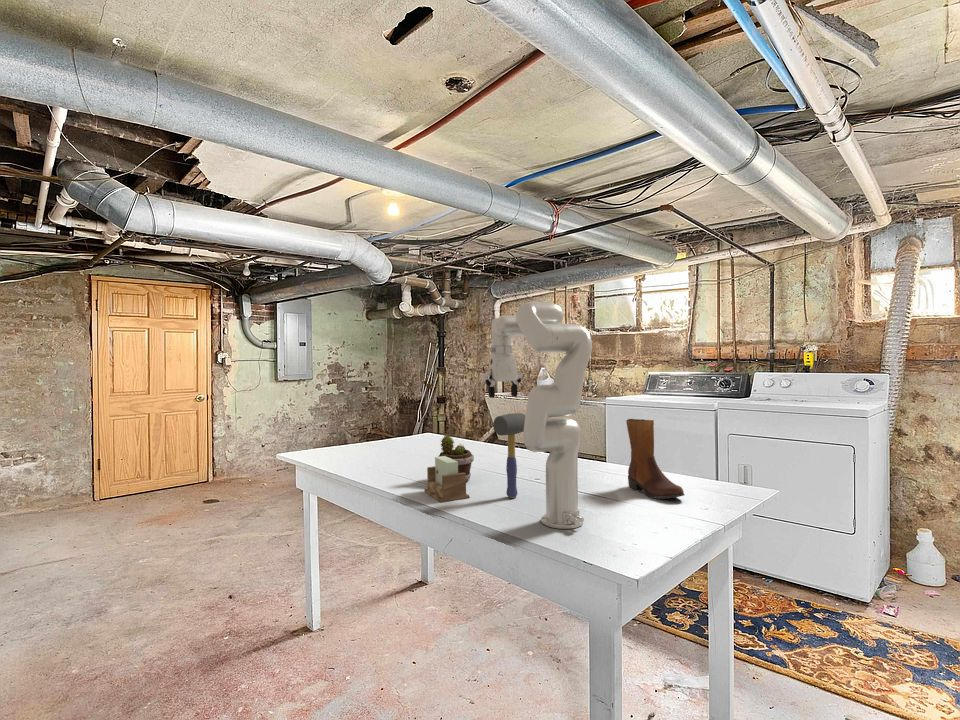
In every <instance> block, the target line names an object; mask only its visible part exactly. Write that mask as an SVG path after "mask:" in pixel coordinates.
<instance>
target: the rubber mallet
mask: <svg viewBox="0 0 960 720" xmlns="http://www.w3.org/2000/svg"><path fill="white" fill-rule="evenodd" d="M524 422H525V414H524V413H522V412H520V413H519V412H517V413H516V412H515V413H507V414H502V415H499V416H497V417H495V418H494V420H493V422H492V423H493V424H492V425H493V426H492V427H493V431H494V432H495V434H496V435H497V436H501V437H502V436H507V458H506V476H507V477H506V478H507V482H506V485H507V487H506V496H507V497H508V498H509V499H516V498H517V496H518V489H517V473H518V468H517V467H518V465H517V459H516V442H515V441H516V440H515V439H516V438H515V435H517V434H520V433H523V431H524Z"/></svg>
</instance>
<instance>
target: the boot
mask: <svg viewBox="0 0 960 720" xmlns="http://www.w3.org/2000/svg"><path fill="white" fill-rule="evenodd" d="M625 422H626V427H627V433H628V438H629V444H630V463H629V466H628V468H627V483H628V488H629V489H631V490H633V491H636V492H640V491H643V492H644V493H645V495H646V496H648V497H649V498H652V499H659V500H660V499H672V498H673V499H674V498H679V497H682V496H683V497H684V496H685V493H684V492H685V491H684V489H683V488H682V486H680V485H677V484H675V483H673V482H672V481H671V480H670V479H669V478H668V477H667V476H666V474H664V473H663V472H662V470H661V469H660V467H659V465H658V464H657V461H656V458H655V429H654V428H655V427H654V425H655V420H654V419H653V420H652V419H638V418H637V419H636V418H628V419H626V420H625Z"/></svg>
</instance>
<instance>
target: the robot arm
mask: <svg viewBox="0 0 960 720" xmlns="http://www.w3.org/2000/svg"><path fill="white" fill-rule="evenodd" d="M563 320H564V312H563V310H562V308H561V307H560V306H559V305H558V304H557V303H554V302H546V301H545V302H543V301H526V302H523V303H521V304H520V305H519V307H518V308H517V311H516V314H515V315H500V316H499V317H495V318H493V319H492V320H491V347H490V348H489V349H488V350H489V352H491V355H490V358H489V366H488V371H486V372H484V373H483V374H482V375H481V378H482V380H483V383H484V384H485V385H486V387H487V388H488V397H489V398H492V399H494V398H495V397H496V392H495V391H496V387H495V384H496V382H499V383H500V382H510V384H511V386H510V394H511V395H510V396H512V397H518V387H519V384H520V383H521V381H522V378H523V376H524V374H523V373H522V372H520V371H518V367H517V366H518V365H517V361H516V355H515V354H513V337H525V340H527V342H528V344H529V345H530V347H531V348H532V349H533V350H534V351H536V352H538V353H547V354H548V353H551V354H552V353H566V354H565V355H564V356H563V358H561V360H560V361H559V362H558V364H557V366H556V367H555V368H556V369H555V373H554V378H553V382H552V383H551V384H541V385H540V384H539V385H536V386H534V387H533V388H531V390H530V391H529V393H528V395H527V396H528V397H527V401H526V406H525V407H526V408H525V414H524V415H525V422H524V431H523V432H522V433H523V435H522V436H523V437H522V439H523V443H524V446H525V448H526V449H527V450H528V451H530V452H532V453H544V452H549V454H548V455H547V459H546V462H545V510H546V511H545V512H546V513H545V514H543V515H542V516H541V517H540V520H541V523H542V524H543V525H545V526H546V527H549V528H553V529H558V530H559V529H560V530H561V529H563V530H568V529H576V528H579V527H582V526H583V524H584V521H585V519H584V517H583V516H581V513H580V509H579V490H578V489H579V487H578V478H579V477H578V476H579V475H578V474H579V473H578V472H579V471H578V468H579V467H578V465H579V463H578V461H579V460H578V459H579V458H578V456H579V449H580V448H579V447H580V443H581V436H582V435H581V434H582V433H581V427H580V425H579V424H578V422H577V421H576V420H574V419H572V418H570V417H569V416H574V415H576V414H577V413H578V411H579V410H580V406H581V401H582V396H583V390H584V388H583V387H584V382H585V375H586V371H587V367H588V365H589V361H590V358H591V355H592V351H593V341H592V337H591V334H590V332H589V331H588V329H587V328H586V327H584V326H583V325H580V324H575V323H562V321H563ZM488 377H489V379H488Z"/></svg>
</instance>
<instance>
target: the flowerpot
mask: <svg viewBox="0 0 960 720" xmlns="http://www.w3.org/2000/svg"><path fill="white" fill-rule="evenodd" d="M439 442H440V443H439V446H440V450H441V452H440V453H439V454H438V456H437V457H440V456H446V457H448V458H451V459H453V460H455V461H457V462H458V473H466V483H468V482H469V480H470V478H471V475H472V474H471V468H472V463H473V462H474V461H475V460H474V458H475V456H474V454H473V453H472V452H471V450H468V449H466V447H465V446H464V445H465V444H464V443H463V444H461V443H459V444H457V445H456V447H455V439H453V437H451V436H450V435H449V434H447V432H445V434H444V435H443V437H442V438H441V439H440V440H439Z"/></svg>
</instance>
